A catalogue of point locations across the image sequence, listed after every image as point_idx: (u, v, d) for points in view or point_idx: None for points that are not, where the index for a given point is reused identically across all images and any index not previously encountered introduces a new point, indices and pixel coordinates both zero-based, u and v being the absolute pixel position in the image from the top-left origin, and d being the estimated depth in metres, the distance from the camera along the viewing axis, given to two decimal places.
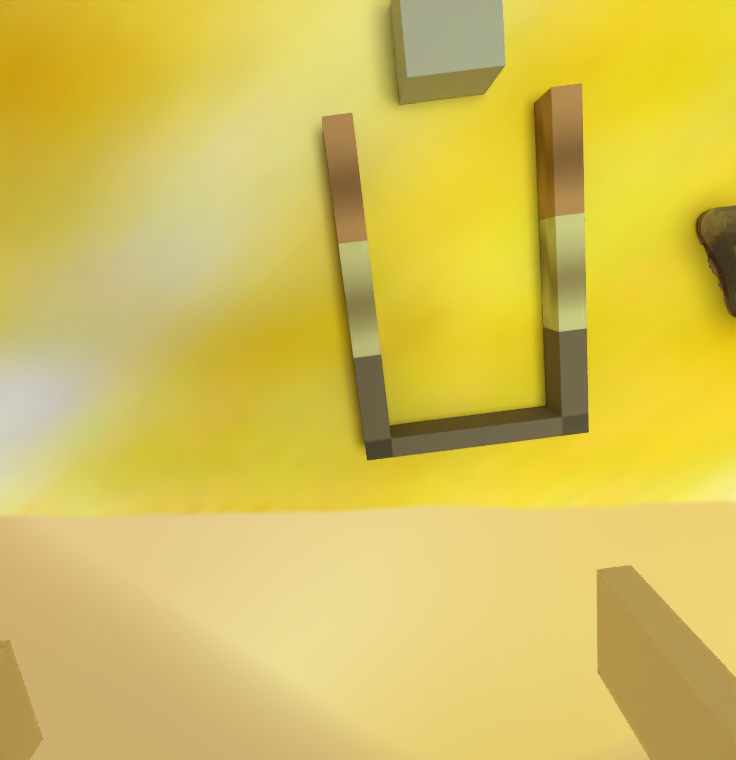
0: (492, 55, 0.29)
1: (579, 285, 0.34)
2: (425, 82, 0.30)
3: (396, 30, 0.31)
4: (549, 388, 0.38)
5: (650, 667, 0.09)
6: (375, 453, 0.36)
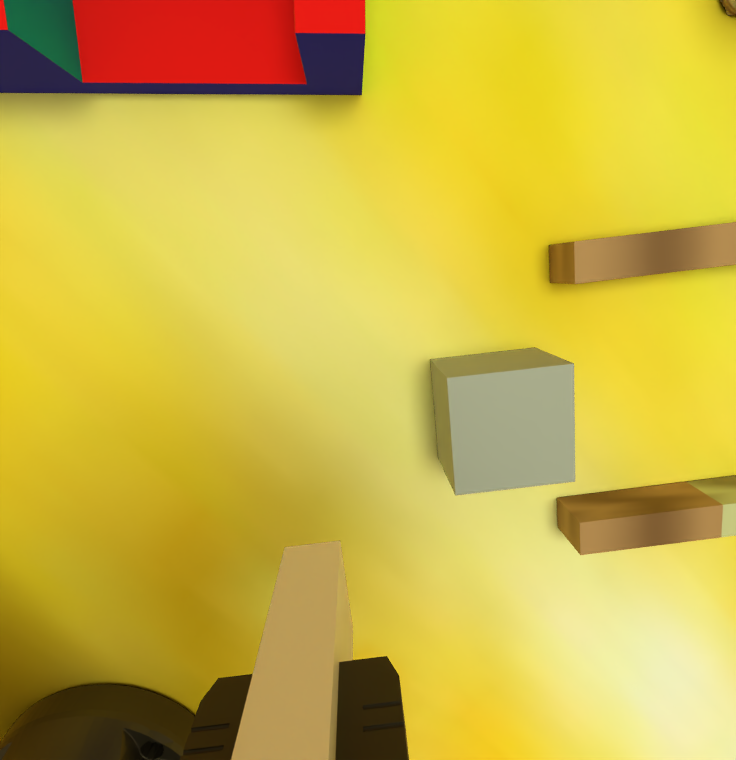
0: (561, 380, 0.23)
1: None
2: None
3: None
4: None
5: None
6: None
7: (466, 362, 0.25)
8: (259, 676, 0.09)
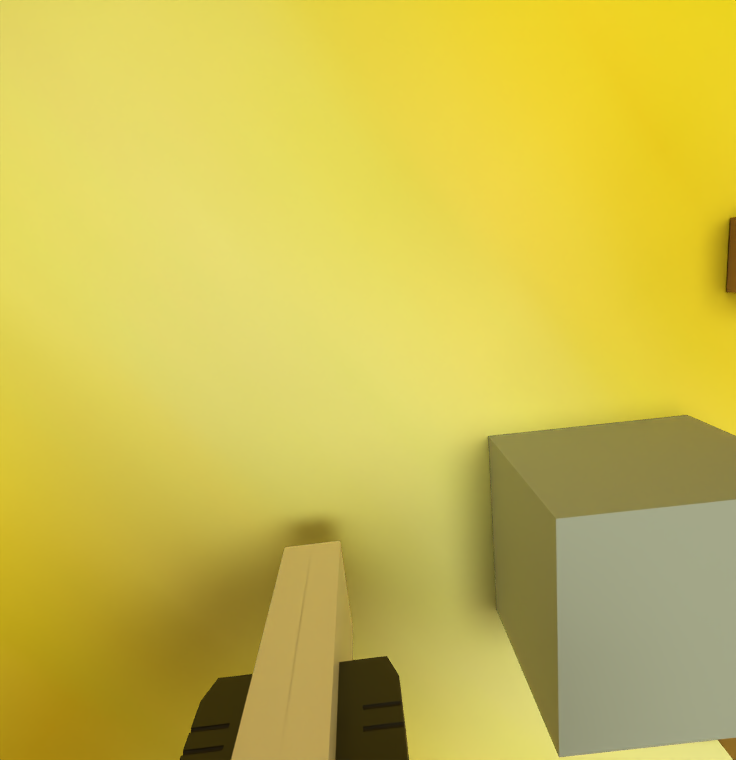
0: None
1: None
2: None
3: None
4: None
5: None
6: None
7: (570, 454, 0.12)
8: (259, 676, 0.09)
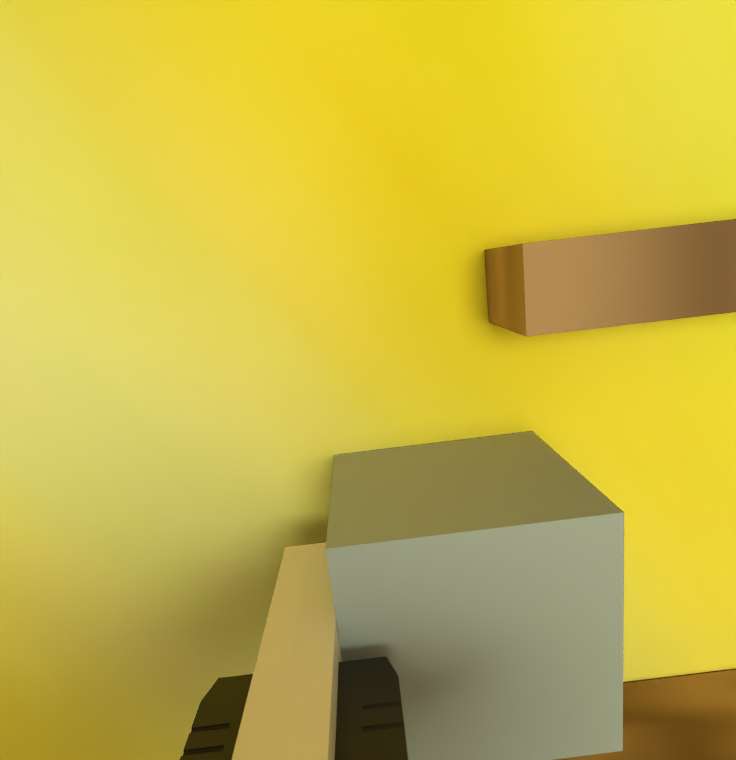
0: (595, 548, 0.10)
1: None
2: None
3: None
4: None
5: None
6: None
7: (393, 476, 0.12)
8: (259, 676, 0.09)
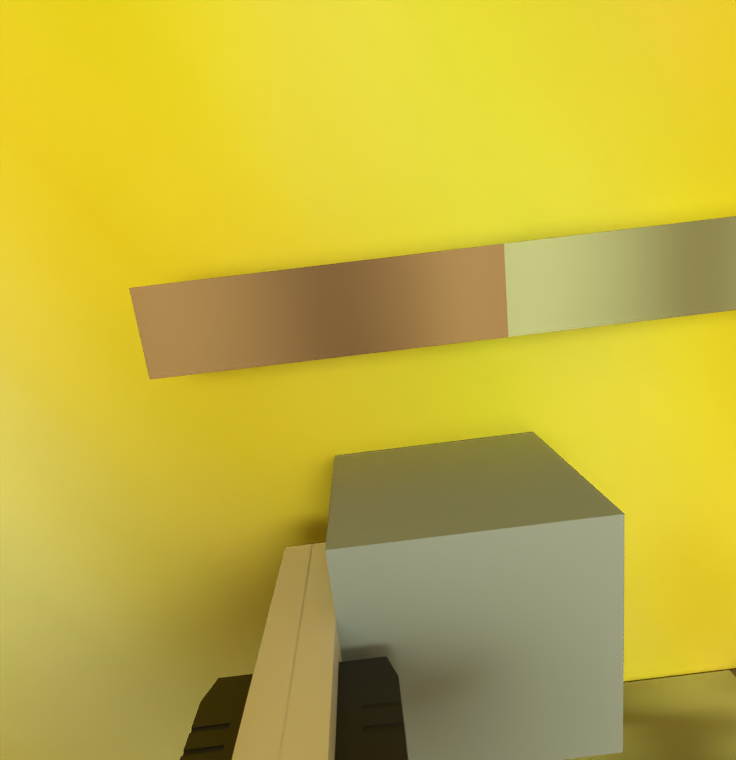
0: (595, 550, 0.10)
1: (731, 237, 0.10)
2: None
3: None
4: None
5: None
6: None
7: (393, 477, 0.12)
8: (259, 676, 0.09)
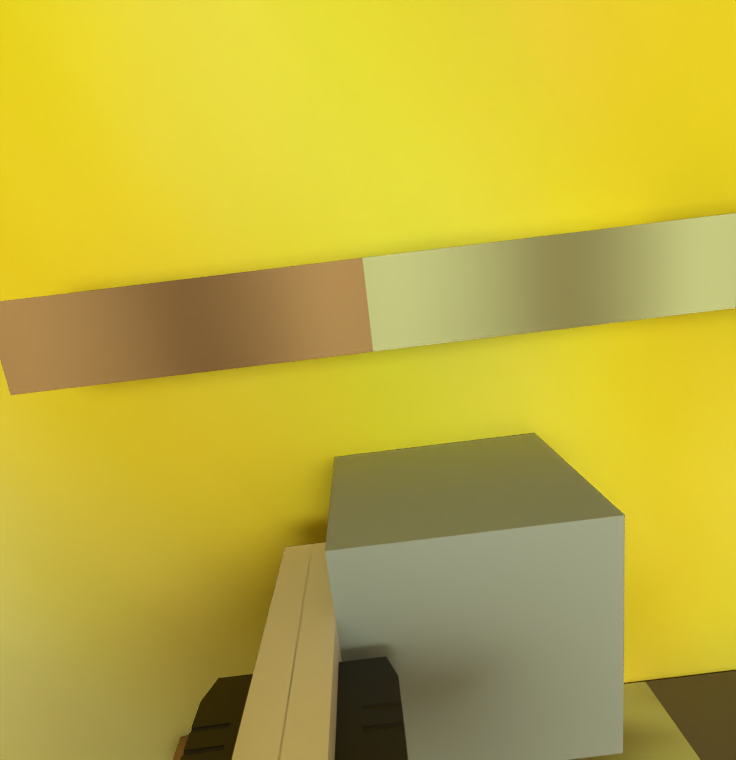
0: (595, 552, 0.10)
1: (595, 251, 0.10)
2: None
3: None
4: None
5: None
6: None
7: (394, 478, 0.12)
8: (259, 676, 0.09)
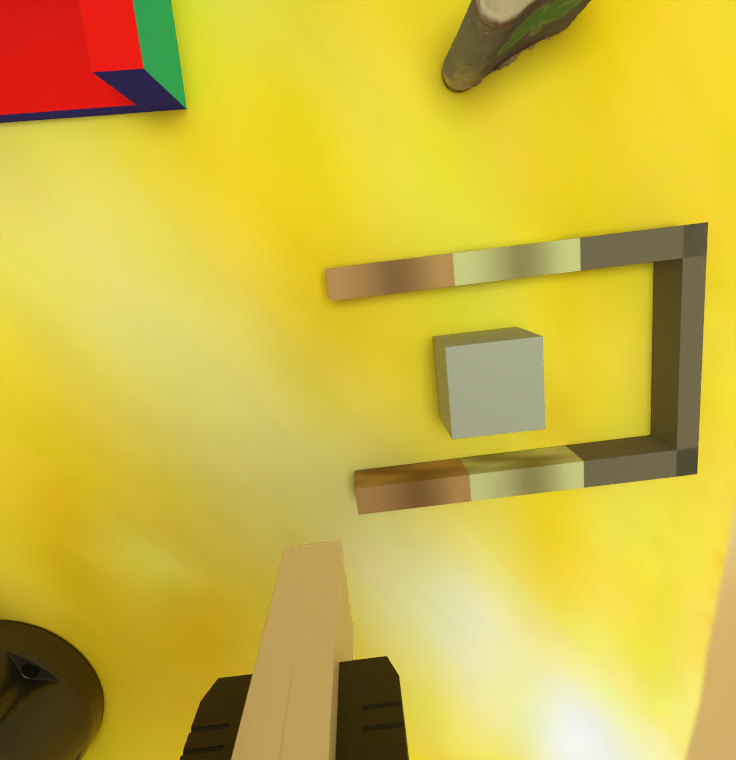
0: (533, 349, 0.29)
1: (531, 251, 0.30)
2: None
3: None
4: None
5: None
6: (690, 465, 0.33)
7: (461, 337, 0.32)
8: (259, 676, 0.09)
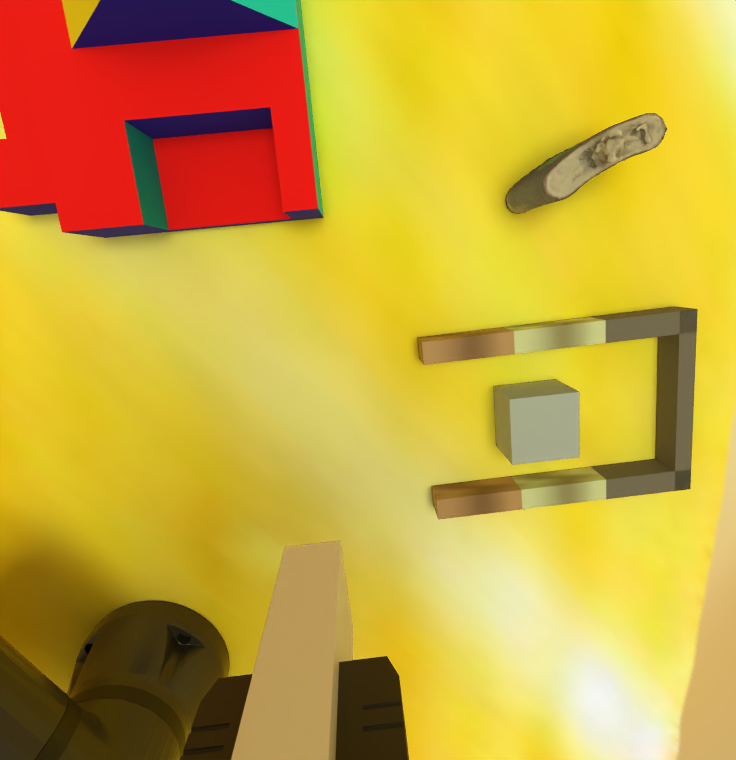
0: (572, 400, 0.41)
1: (570, 329, 0.41)
2: None
3: None
4: None
5: None
6: (685, 482, 0.45)
7: (516, 389, 0.44)
8: (259, 676, 0.09)
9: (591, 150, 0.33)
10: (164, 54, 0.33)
